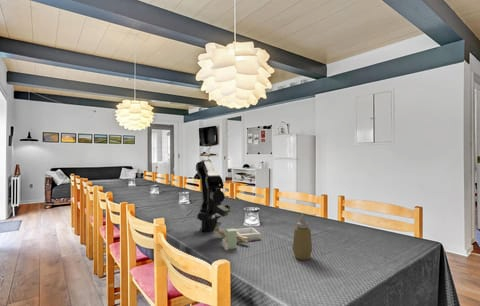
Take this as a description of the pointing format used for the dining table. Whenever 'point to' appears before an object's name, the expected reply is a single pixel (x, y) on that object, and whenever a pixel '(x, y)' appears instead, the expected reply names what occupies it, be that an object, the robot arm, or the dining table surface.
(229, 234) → the block
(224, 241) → the crank housing
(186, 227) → the dining table surface
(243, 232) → the tray
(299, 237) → the squeeze bottle
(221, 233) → the crank
